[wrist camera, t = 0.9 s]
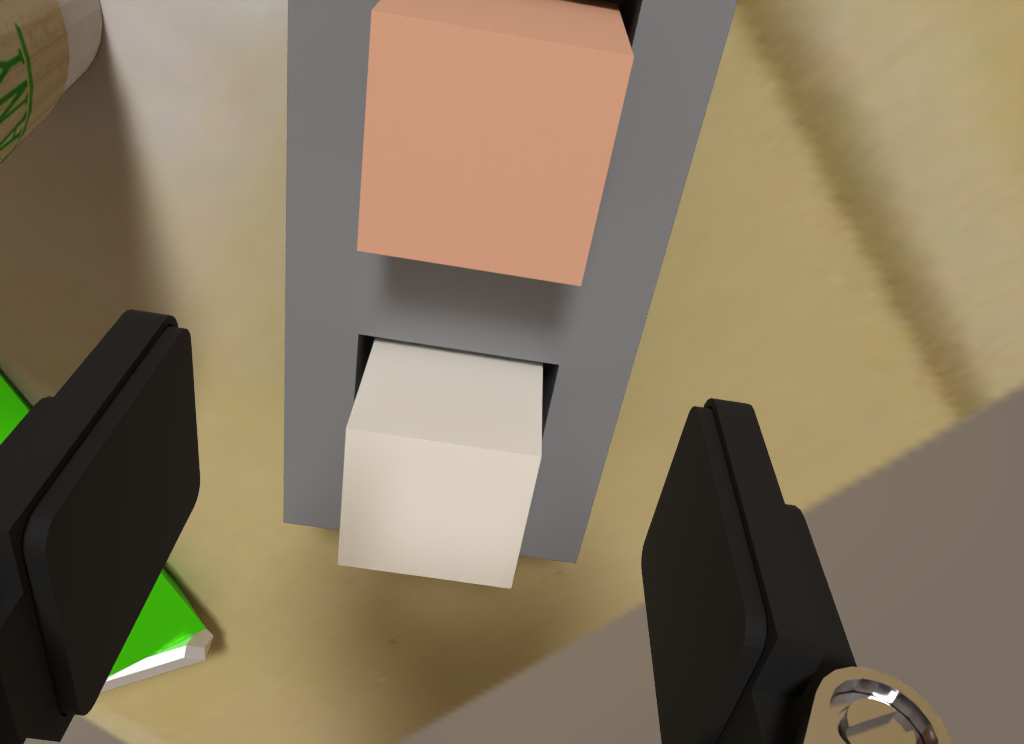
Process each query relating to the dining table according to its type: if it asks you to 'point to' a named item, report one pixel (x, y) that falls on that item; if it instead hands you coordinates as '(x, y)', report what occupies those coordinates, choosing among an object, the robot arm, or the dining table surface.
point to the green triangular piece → (165, 616)
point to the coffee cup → (41, 59)
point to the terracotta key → (491, 132)
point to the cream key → (441, 463)
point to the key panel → (475, 293)
